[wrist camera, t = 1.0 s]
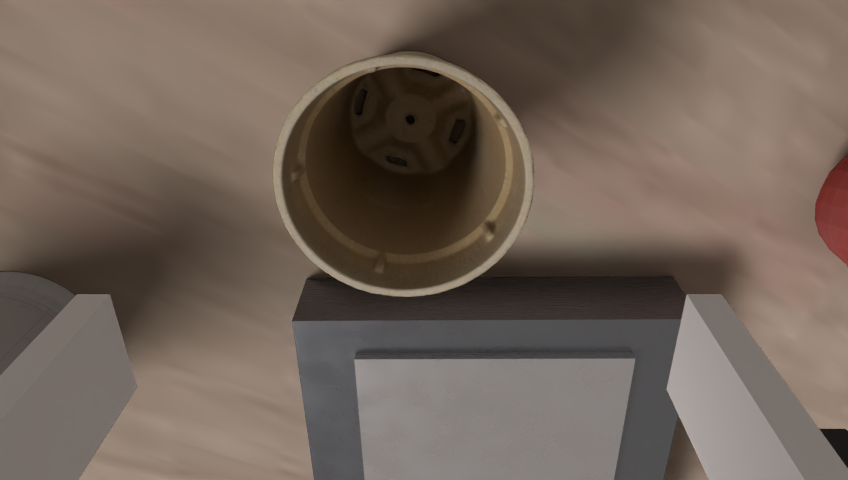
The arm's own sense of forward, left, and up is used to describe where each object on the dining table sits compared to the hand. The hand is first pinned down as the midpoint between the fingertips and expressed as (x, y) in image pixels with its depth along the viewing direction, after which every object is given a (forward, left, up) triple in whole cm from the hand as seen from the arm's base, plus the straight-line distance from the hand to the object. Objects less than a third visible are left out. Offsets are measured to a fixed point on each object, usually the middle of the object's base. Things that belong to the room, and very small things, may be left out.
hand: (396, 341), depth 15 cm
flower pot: (0, 0, -18) cm, 18 cm away
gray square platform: (+4, -18, -18) cm, 25 cm away
